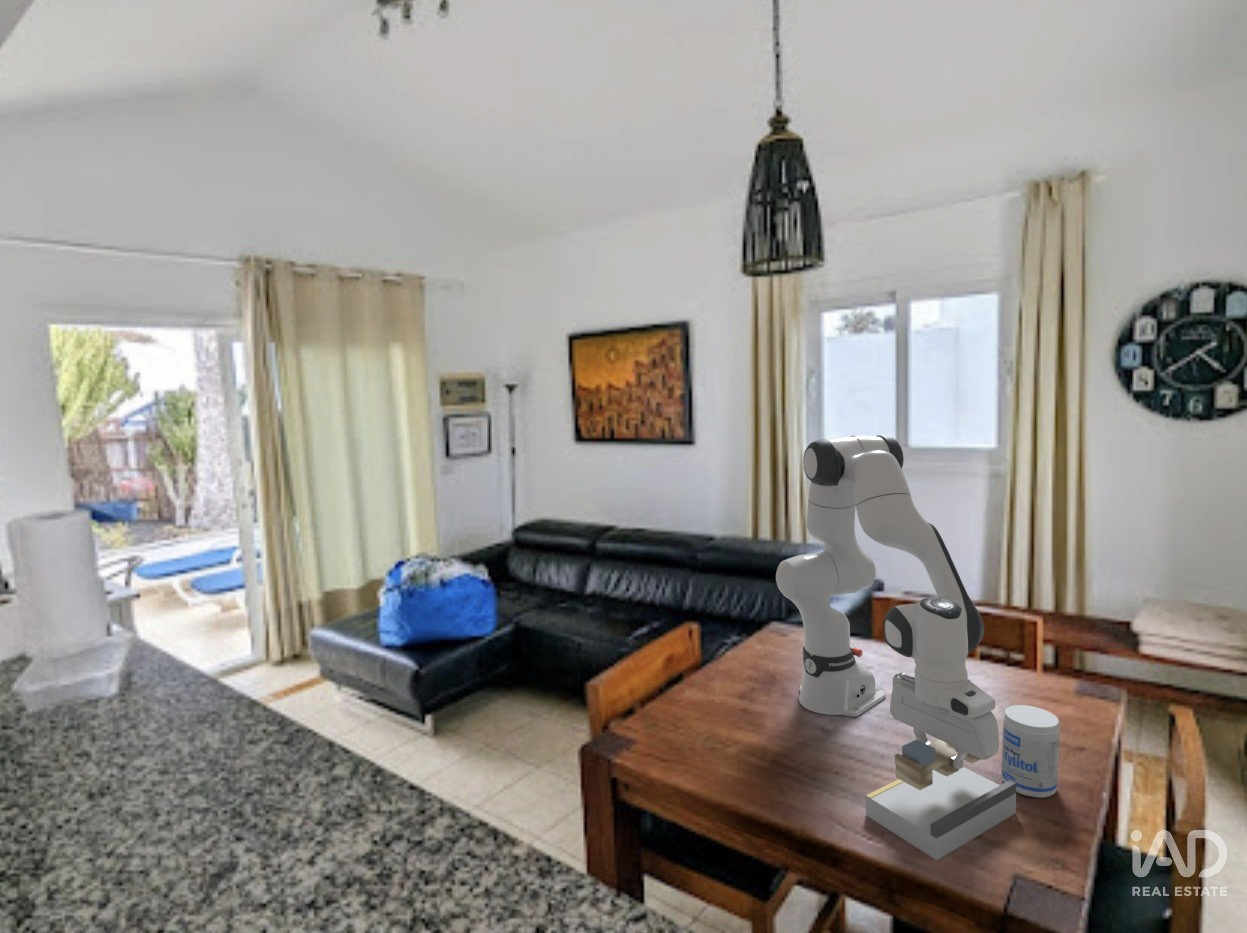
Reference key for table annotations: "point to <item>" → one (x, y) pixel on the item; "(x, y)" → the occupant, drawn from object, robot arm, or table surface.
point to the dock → (942, 810)
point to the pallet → (928, 766)
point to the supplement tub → (1030, 750)
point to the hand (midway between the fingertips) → (940, 759)
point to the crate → (919, 752)
